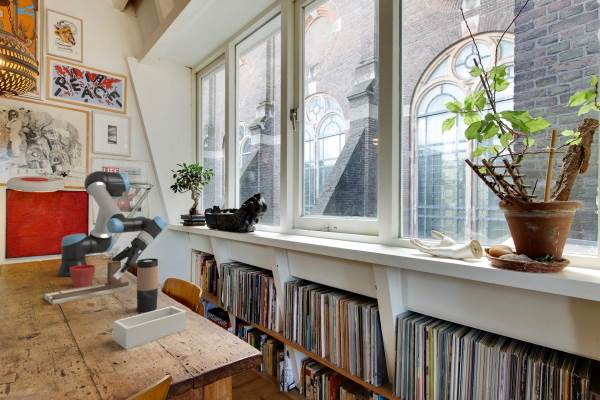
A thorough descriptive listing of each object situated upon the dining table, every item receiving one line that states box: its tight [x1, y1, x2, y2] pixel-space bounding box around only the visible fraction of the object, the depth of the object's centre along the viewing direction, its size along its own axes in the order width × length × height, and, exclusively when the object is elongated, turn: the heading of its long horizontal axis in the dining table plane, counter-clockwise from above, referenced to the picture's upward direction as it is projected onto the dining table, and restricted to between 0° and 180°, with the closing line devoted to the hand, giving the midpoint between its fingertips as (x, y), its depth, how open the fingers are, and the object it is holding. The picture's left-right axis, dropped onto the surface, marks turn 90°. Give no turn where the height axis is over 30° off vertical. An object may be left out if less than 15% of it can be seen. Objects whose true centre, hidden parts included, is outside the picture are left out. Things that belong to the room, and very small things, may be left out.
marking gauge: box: [105, 261, 123, 286], centre depth 154 cm, size 7×6×12 cm
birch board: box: [43, 281, 130, 306], centre depth 147 cm, size 14×30×4 cm, turn 140°
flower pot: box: [70, 264, 96, 288], centre depth 162 cm, size 11×11×10 cm
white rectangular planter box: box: [113, 305, 188, 350], centre depth 103 cm, size 9×19×6 cm, turn 140°
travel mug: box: [136, 257, 159, 314], centre depth 127 cm, size 8×8×20 cm
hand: (109, 275), depth 152 cm, fingers open, 13 cm apart
